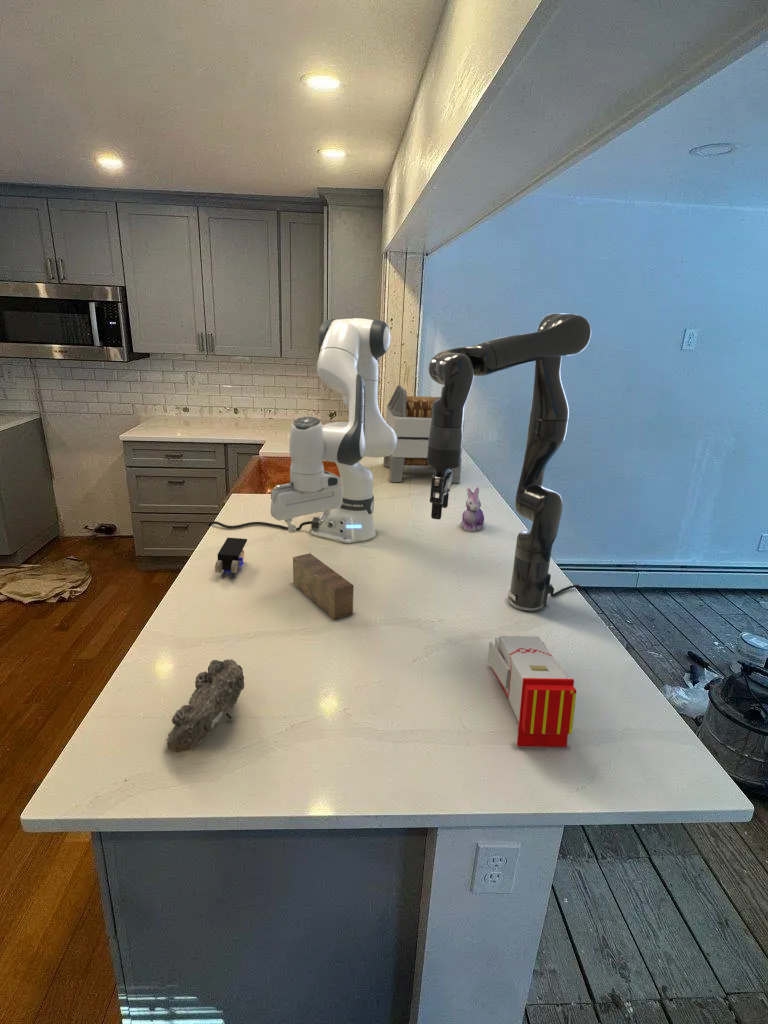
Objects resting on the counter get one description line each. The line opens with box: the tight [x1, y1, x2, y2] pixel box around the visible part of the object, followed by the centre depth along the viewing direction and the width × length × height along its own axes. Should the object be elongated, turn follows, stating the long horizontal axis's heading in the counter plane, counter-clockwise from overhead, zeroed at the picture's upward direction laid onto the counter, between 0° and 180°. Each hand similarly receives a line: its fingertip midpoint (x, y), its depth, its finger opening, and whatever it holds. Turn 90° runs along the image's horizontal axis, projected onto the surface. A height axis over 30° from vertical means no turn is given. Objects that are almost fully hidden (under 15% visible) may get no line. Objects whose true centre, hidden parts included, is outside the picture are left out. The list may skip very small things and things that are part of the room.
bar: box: [292, 552, 354, 620], centre depth 152 cm, size 23×6×8 cm, turn 36°
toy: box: [486, 635, 577, 748], centre depth 115 cm, size 12×13×30 cm
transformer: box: [383, 384, 465, 484], centre depth 268 cm, size 34×33×41 cm
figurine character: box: [214, 537, 248, 578], centre depth 166 cm, size 7×8×15 cm
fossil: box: [166, 658, 245, 754], centre depth 106 cm, size 22×10×15 cm
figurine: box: [461, 486, 485, 532], centre depth 206 cm, size 9×10×15 cm
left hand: (307, 528), depth 154 cm, fingers open, 8 cm apart
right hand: (439, 512), depth 132 cm, fingers open, 8 cm apart
